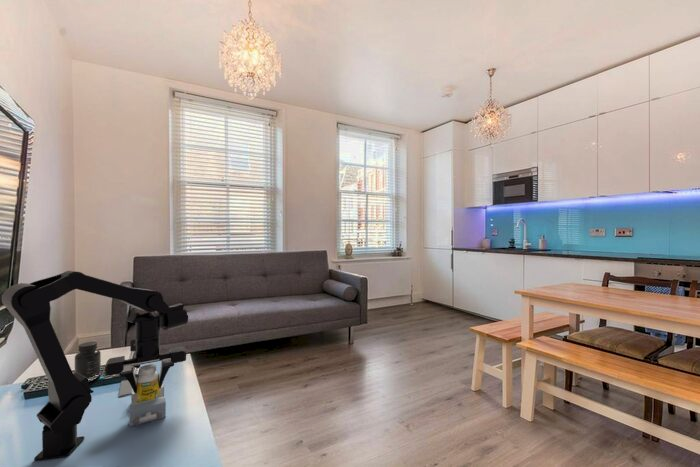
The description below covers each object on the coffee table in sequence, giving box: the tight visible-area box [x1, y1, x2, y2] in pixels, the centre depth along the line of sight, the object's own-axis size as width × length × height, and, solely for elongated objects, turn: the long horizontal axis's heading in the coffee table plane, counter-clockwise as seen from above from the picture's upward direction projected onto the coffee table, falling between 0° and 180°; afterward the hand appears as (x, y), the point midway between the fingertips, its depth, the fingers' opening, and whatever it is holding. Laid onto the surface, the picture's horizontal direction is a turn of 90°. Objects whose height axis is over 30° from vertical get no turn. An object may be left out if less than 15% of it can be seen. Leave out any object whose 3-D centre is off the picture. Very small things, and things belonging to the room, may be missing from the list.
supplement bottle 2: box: [136, 363, 159, 403], centre depth 90 cm, size 5×5×10 cm
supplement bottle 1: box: [74, 341, 102, 378], centre depth 108 cm, size 7×7×12 cm
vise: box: [129, 381, 167, 427], centre depth 89 cm, size 16×8×4 cm, turn 32°
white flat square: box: [118, 372, 160, 398], centre depth 104 cm, size 11×11×1 cm
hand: (148, 390), depth 90 cm, fingers closed on supplement bottle 2, 5 cm apart
